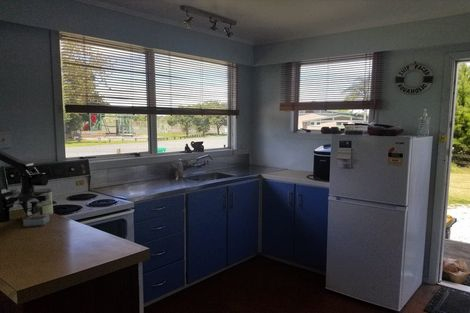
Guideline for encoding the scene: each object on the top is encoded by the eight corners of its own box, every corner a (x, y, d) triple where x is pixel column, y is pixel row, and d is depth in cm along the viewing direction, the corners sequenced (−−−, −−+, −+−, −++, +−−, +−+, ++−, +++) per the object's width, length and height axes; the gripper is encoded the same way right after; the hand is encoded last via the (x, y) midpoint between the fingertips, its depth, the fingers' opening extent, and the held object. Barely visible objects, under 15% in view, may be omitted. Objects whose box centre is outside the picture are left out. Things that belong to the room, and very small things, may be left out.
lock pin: (28, 219, 190) (27, 209, 189) (33, 219, 190) (32, 208, 190) (26, 221, 187) (26, 210, 187) (32, 220, 188) (31, 209, 187)
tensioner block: (28, 217, 194) (28, 210, 194) (40, 216, 196) (39, 209, 195) (22, 222, 186) (21, 214, 185) (34, 221, 187) (34, 213, 186)
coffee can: (32, 217, 196) (30, 192, 194) (34, 213, 205) (32, 189, 204) (53, 214, 200) (51, 190, 199) (53, 210, 209) (52, 188, 208)
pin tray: (30, 221, 186) (30, 216, 186) (49, 220, 188) (49, 215, 187) (23, 226, 177) (23, 221, 176) (43, 225, 178) (43, 219, 178)
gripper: (1, 189, 177) (4, 219, 179) (41, 187, 181) (43, 216, 182) (10, 185, 188) (13, 213, 189) (48, 183, 192) (50, 211, 193)
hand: (29, 214), depth 188 cm, fingers closed on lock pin, 2 cm apart
